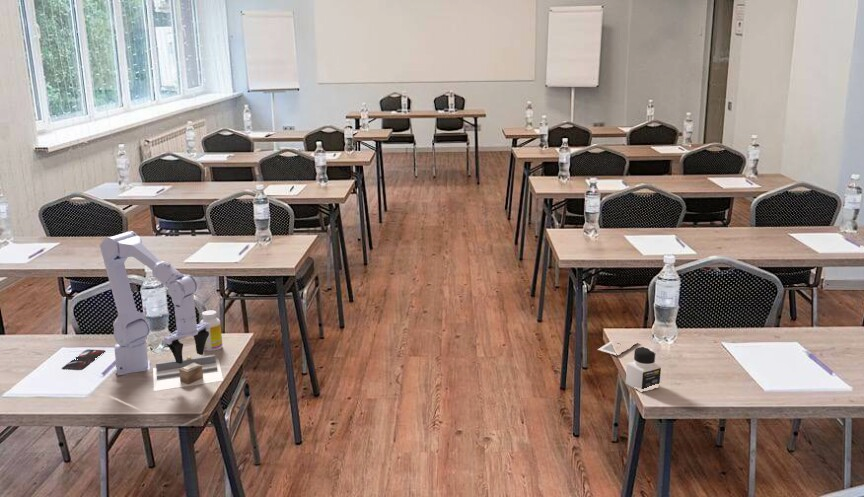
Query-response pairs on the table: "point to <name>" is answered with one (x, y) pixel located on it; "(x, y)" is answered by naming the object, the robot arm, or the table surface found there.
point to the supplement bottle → (212, 330)
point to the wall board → (169, 373)
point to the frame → (191, 373)
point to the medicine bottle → (643, 369)
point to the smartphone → (83, 359)
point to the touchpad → (608, 348)
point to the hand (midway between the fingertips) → (189, 358)
